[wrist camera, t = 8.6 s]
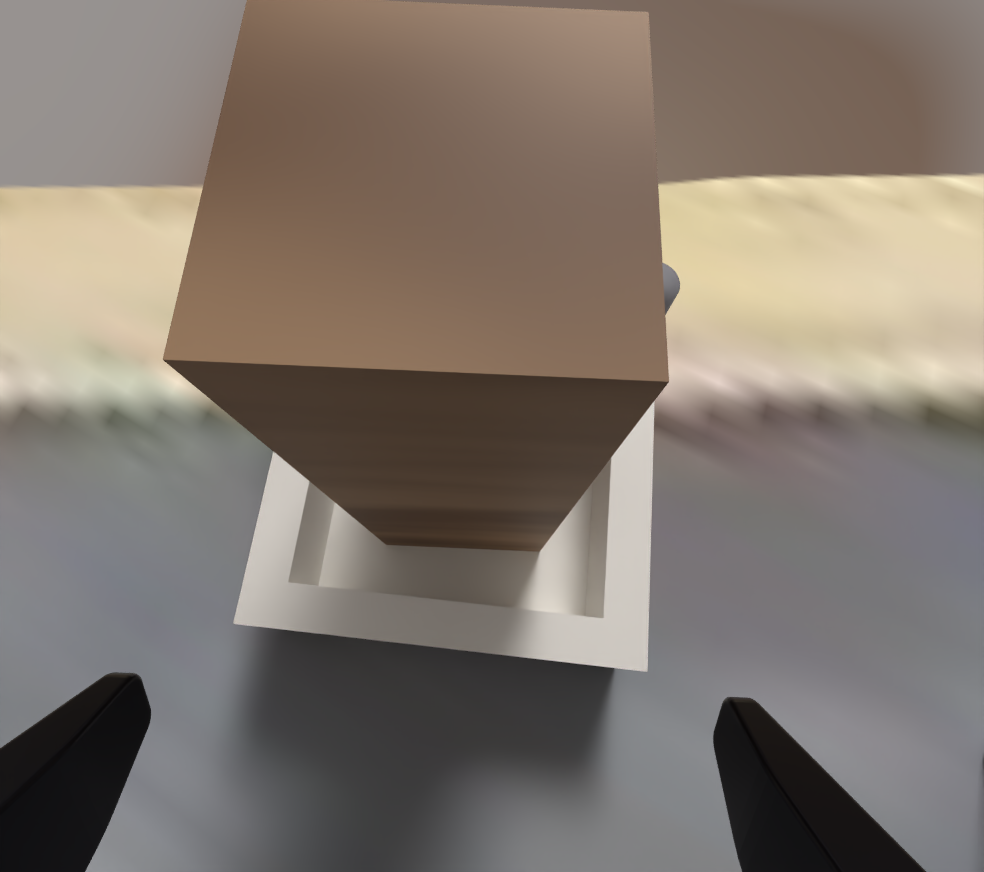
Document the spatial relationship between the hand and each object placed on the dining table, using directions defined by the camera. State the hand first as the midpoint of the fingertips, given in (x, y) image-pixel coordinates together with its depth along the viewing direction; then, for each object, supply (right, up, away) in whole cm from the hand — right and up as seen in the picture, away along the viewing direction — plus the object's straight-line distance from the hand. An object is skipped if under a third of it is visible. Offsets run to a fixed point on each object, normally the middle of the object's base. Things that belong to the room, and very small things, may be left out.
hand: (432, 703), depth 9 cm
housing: (0, +3, +12) cm, 12 cm away
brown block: (0, +3, +11) cm, 11 cm away
